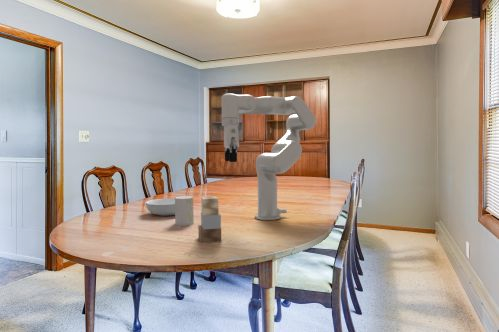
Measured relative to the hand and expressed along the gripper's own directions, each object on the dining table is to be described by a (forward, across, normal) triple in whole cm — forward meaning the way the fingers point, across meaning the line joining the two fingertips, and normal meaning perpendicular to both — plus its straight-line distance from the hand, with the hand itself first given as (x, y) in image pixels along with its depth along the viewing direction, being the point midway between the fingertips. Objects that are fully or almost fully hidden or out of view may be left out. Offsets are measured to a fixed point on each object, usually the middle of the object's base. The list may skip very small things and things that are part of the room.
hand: (230, 161), depth 143 cm
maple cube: (+18, -20, +13) cm, 30 cm away
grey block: (+24, -21, +12) cm, 34 cm away
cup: (+28, +8, +20) cm, 36 cm away
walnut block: (+28, -20, +13) cm, 37 cm away
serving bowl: (+29, +32, +27) cm, 51 cm away
